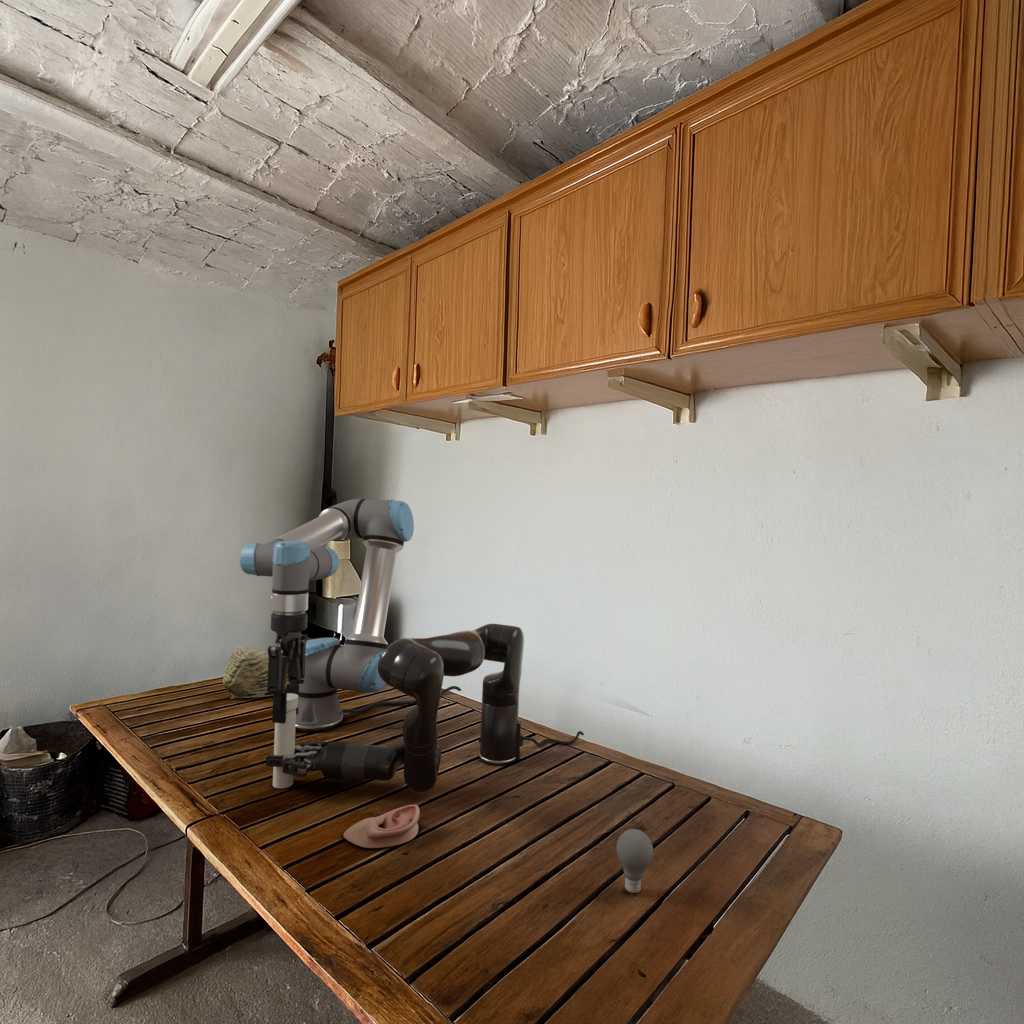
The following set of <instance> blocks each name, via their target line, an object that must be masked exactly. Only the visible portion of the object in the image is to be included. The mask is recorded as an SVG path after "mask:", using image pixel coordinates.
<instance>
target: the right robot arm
mask: <svg viewBox="0 0 1024 1024" xmlns="http://www.w3.org/2000/svg"><path fill="white" fill-rule="evenodd" d="M524 635H525V634H524V631H523V629H522V628H521V627H519V626H516V625H509V624H500V623H486V624H484V625H482V626H480V627H477V628H475V629H473V630H472V629H471V630H470V629H469V630H461V631H455V632H450V633H448V634H441V635H436V636H430V637H404V638H399V639H396V640H395V641H393V642H392V643H390V644H388V646H387V648H386V649H385V650H384V652H383V653H382V655H381V657H380V659H379V662H378V673H379V675H380V677H381V679H382V680H383V681H384V682H385V683H386V684H387V685H388V686H390V687H391V688H393V689H395V690H396V691H398V692H401V693H403V694H404V695H406V696H408V697H411V698H414V700H416V702H417V703H416V705H415V706H413V707H412V708H411V709H410V710H409V711H408V712H407V714H406V715H405V717H404V719H403V722H402V738H403V740H402V741H403V743H398V744H393V745H392V744H391V745H377V744H367V743H363V742H350V741H349V742H347V741H335V740H334V741H333V740H332V741H329V742H328V741H308V742H305V741H304V742H300V743H299V745H297V744H295V752H294V756H280V755H274V754H268V755H267V756H266V757H265V765H266V767H272V768H273V767H282V773H285V774H290V775H294V776H295V777H299V778H306V777H307V776H308V772H317V771H318V772H319V771H321V773H322V776H323V778H325V779H331V780H332V779H333V780H348V781H361V780H362V781H363V780H367V781H369V780H370V781H381V782H382V781H386V782H387V781H391V780H393V779H394V777H395V775H396V774H397V771H398V770H399V768H400V767H402V766H403V780H404V782H405V785H406V786H407V787H408V788H409V789H410V790H411V791H413V792H415V793H421V794H422V793H423V794H424V793H427V792H429V791H431V790H432V789H433V788H434V787H435V785H436V784H437V782H438V777H439V771H440V765H441V761H442V748H441V747H440V746H439V745H438V744H439V739H438V738H439V737H438V714H439V707H440V703H441V697H442V694H441V691H442V690H443V683H444V677H460V676H463V675H467V674H470V673H472V672H475V671H476V670H477V669H479V668H480V667H481V665H482V664H483V663H484V661H488V662H495V663H502V664H503V669H502V670H501V671H497V672H492V673H489V674H486V675H485V676H484V677H483V679H482V690H481V691H482V692H481V713H480V718H481V720H480V737H479V739H478V744H479V752H478V757H479V760H481V761H482V762H483V763H486V764H489V765H497V766H504V765H509V764H512V763H514V762H517V761H520V756H521V755H520V753H521V747H523V746H524V740H525V741H529V742H532V743H534V744H535V746H538V747H541V746H543V745H544V744H545V743H547V742H548V743H549V742H552V743H556V744H561V745H571V744H574V743H576V741H577V740H578V739H579V737H580V735H581V736H584V735H585V733H584V732H583V731H581V730H579V731H577V732H576V736H575V737H574V738H573V739H571V740H569V741H565V740H559V739H556V738H543V739H542V740H541V741H540V742H538V740H536V739H535V738H532V737H528V736H524V734H522V733H521V732H522V722H521V720H520V719H519V707H520V706H519V705H520V688H521V687H520V686H521V679H522V670H523V658H524V648H525V637H524ZM292 760H294V761H292Z"/></svg>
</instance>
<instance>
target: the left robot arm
mask: <svg viewBox="0 0 1024 1024" xmlns="http://www.w3.org/2000/svg"><path fill="white" fill-rule="evenodd" d="M414 521H415V520H414V515H413V512H412V509H411V507H410V506H409V504H408V503H407V502H405V501H403V500H395V499H375V498H373V499H371V498H354V499H350V500H349V499H348V500H346V501H342V502H340V503H337V504H333V505H332V506H329V507H327V508H325V509H323V510H322V511H320V513H319V515H318V517H315V518H314V519H311V520H310V521H307V522H306V523H303V524H302V525H300V526H297V527H295V528H294V529H292V530H290V531H288V532H286V533H284V534H282V535H280V536H278V537H276V538H273V539H271V540H269V541H268V542H265V543H259V542H256V543H248V544H246V545H245V546H244V547H243V548H242V549H241V550H240V551H241V552H240V553H239V554H240V555H239V567H240V569H241V570H242V572H243V573H245V574H247V575H253V576H257V577H270V578H271V577H272V589H271V596H270V600H271V611H272V613H271V614H270V630H271V631H272V632H274V633H276V635H275V636H276V637H275V639H274V645H269V646H268V647H267V655H268V656H269V661H268V683H267V692H269V693H273V695H272V715H271V716H272V719H271V722H272V723H274V724H275V723H286V704H287V693H293V694H297V695H298V707H297V708H296V725H295V732H301V733H316V732H325V731H329V730H332V729H335V728H337V727H339V726H340V725H342V723H343V722H344V714H357V713H361V712H365V711H366V710H368V709H371V708H373V707H377V706H378V707H379V706H400V705H401V706H402V705H413V704H417V702H416V699H411V700H401V701H400V700H399V701H398V700H397V701H376V702H372V703H369V704H367V705H365V706H362V707H361V708H344V709H343V708H342V706H341V702H340V699H339V695H338V690H344V691H345V690H346V691H353V692H359V693H378V692H380V691H381V690H382V689H383V688H384V687H385V685H386V684H387V683H385V682H384V681H383V680H382V679H381V677H380V675H379V673H378V662H379V659H380V657H381V655H382V653H383V652H384V650H385V649H386V648H387V647H388V646H389V643H388V642H387V640H386V639H385V637H384V635H385V629H386V624H387V617H388V611H389V604H390V598H391V593H392V587H393V581H394V580H393V579H394V574H395V568H396V561H397V556H398V555H397V554H398V553H400V552H401V551H402V550H404V546H405V545H404V544H405V543H406V542H409V541H411V540H412V537H413V535H414V529H415V522H414ZM348 538H349V539H351V538H354V539H362V544H363V545H364V547H365V549H366V552H365V558H364V563H363V568H362V569H363V570H362V574H361V580H360V585H359V591H358V592H359V593H358V598H357V605H356V609H355V615H354V622H353V625H352V632H351V634H350V635H348V636H347V637H345V640H344V645H342V644H340V643H341V641H340V639H339V638H338V637H318V638H313V639H308V635H307V634H302V632H304V631H306V630H307V628H308V613H307V612H306V611H308V610H309V582H312V581H319V580H325V579H327V578H329V577H331V576H333V575H334V574H336V573H337V571H338V569H339V565H340V561H339V560H340V559H339V556H338V554H337V552H336V551H335V550H334V549H333V548H331V547H329V546H325V545H327V544H330V543H331V542H338V541H340V540H343V539H348ZM287 680H288V683H287ZM285 686H286V690H285ZM452 690H457V692H461V691H462V689H461V688H460V687H459V686H456V685H452V686H449V687H446V688H444V689H442V690H441V695H443V694H446V693H447V692H449V691H452Z"/></svg>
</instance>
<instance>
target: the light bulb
mask: <svg viewBox="0 0 1024 1024" xmlns="http://www.w3.org/2000/svg"><path fill="white" fill-rule="evenodd" d="M615 849H616V854H617V857H618V859H619V861H620V863H621V865H622V867H623V873H624V874H623V875H624V876H625V878H624V888H625V890H627V891H628V892H630V893H634V894H635V893H639V892H640V891H641V889H642V887H641V886H642V879H643V877H644V875H645V871H646V868H647V867H648V866H649V864H650V863H651V861H652V859H653V855H654V847H653V843H652V841H651V838H649V836H648V835H647V834H646V833H645V832H643V831H642V830H641V829H636V828H629V829H627V830H625V831H623V832H622V833H621V834H620V835H619V837H618V839H617V841H616V847H615Z"/></svg>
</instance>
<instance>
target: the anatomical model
mask: <svg viewBox="0 0 1024 1024" xmlns="http://www.w3.org/2000/svg"><path fill="white" fill-rule="evenodd" d="M420 814H421V813H420V807H419V805H417V804H408V805H404V806H400V807H397V808H395V809H392V810H390V811H388V812H385V813H383V814H380V815H378V816H372V817H367V818H364V819H361V820H360V821H358V822H356V823H354V824H353V825H351V826H350V827H348V828H347V829H346V830H345V831H344V833H343V835H342V836H343V838H344V839H345V840H346V841H348V842H349V843H352V844H353V845H355V846H358V847H360V848H364V849H380V848H388V847H395V846H399V845H402V844H405V843H407V842H410V841H412V840H414V839H415V838H416V836H417V835H418V832H419V823H418V821H419V819H420Z"/></svg>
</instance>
